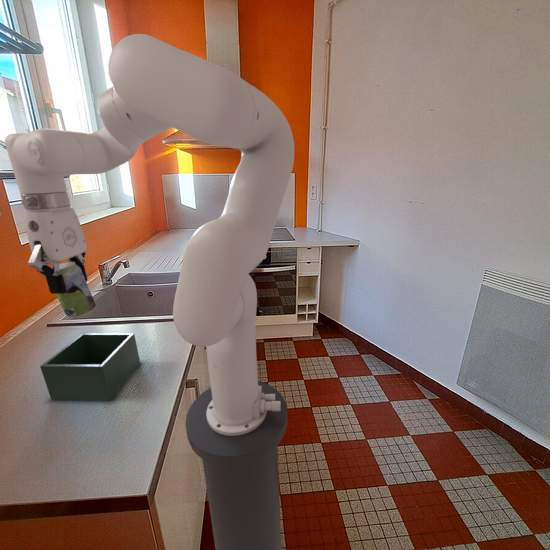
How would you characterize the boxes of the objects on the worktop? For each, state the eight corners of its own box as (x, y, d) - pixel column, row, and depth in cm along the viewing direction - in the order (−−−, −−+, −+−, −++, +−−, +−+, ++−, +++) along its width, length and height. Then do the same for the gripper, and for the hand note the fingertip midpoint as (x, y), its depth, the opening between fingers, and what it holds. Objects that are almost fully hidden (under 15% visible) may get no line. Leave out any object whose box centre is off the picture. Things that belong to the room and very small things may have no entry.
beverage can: (102, 310, 70) (92, 260, 66) (71, 323, 63) (57, 268, 60) (85, 307, 72) (74, 258, 69) (52, 319, 66) (38, 266, 63)
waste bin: (140, 363, 84) (134, 333, 81) (111, 400, 70) (102, 366, 67) (90, 362, 85) (82, 333, 82) (51, 400, 71) (39, 366, 68)
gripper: (30, 207, 51) (58, 303, 57) (92, 198, 68) (109, 274, 73) (-12, 208, 52) (20, 303, 58) (60, 199, 68) (79, 274, 74)
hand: (70, 286), depth 65 cm, fingers closed on beverage can, 6 cm apart
